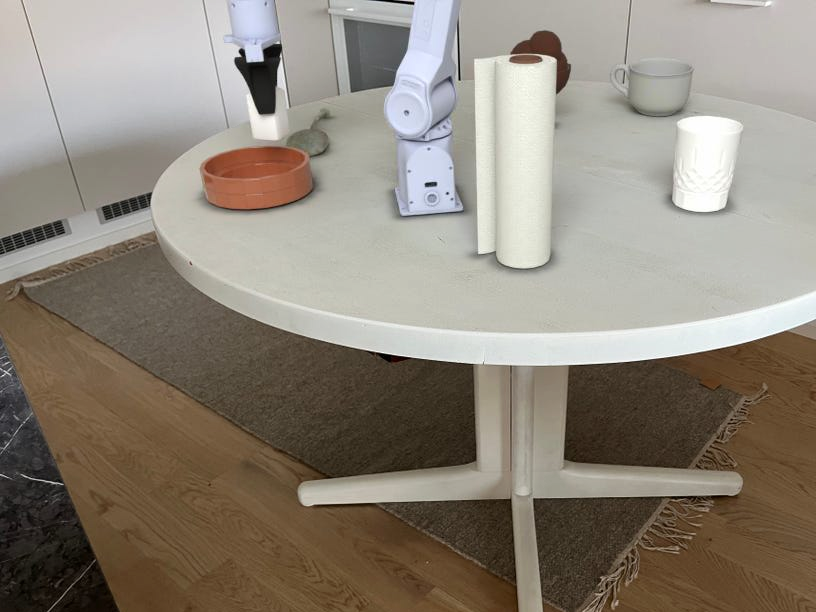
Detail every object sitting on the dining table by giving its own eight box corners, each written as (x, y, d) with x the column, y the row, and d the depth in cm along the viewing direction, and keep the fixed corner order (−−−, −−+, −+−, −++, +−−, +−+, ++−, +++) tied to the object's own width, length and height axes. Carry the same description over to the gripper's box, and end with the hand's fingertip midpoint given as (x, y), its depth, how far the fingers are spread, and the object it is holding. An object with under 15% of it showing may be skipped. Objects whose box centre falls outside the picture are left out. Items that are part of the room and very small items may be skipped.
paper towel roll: (561, 258, 88) (570, 57, 77) (523, 275, 85) (526, 67, 73) (515, 240, 93) (516, 47, 81) (477, 255, 89) (473, 56, 78)
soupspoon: (283, 161, 121) (326, 162, 121) (280, 139, 119) (324, 141, 119) (307, 116, 139) (344, 117, 139) (305, 97, 137) (343, 98, 137)
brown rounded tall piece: (568, 116, 136) (572, 23, 128) (568, 135, 127) (572, 36, 119) (507, 115, 137) (507, 23, 129) (502, 134, 128) (502, 36, 120)
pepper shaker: (292, 133, 108) (281, 61, 103) (278, 142, 105) (267, 68, 100) (266, 132, 109) (254, 60, 104) (251, 140, 106) (238, 66, 101)
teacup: (697, 108, 139) (703, 61, 135) (675, 124, 131) (680, 74, 127) (623, 99, 145) (627, 53, 141) (598, 113, 138) (601, 65, 133)
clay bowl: (313, 206, 103) (308, 175, 101) (200, 215, 101) (193, 183, 99) (313, 171, 115) (309, 142, 112) (212, 178, 113) (206, 149, 110)
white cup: (685, 217, 97) (696, 136, 92) (657, 195, 104) (665, 119, 98) (742, 210, 99) (756, 130, 94) (711, 189, 105) (722, 113, 100)
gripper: (222, -10, 103) (240, 96, 111) (210, 7, 91) (232, 125, 98) (276, -13, 104) (292, 93, 112) (272, 3, 92) (290, 121, 99)
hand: (267, 108), depth 105 cm, fingers closed on pepper shaker, 5 cm apart
